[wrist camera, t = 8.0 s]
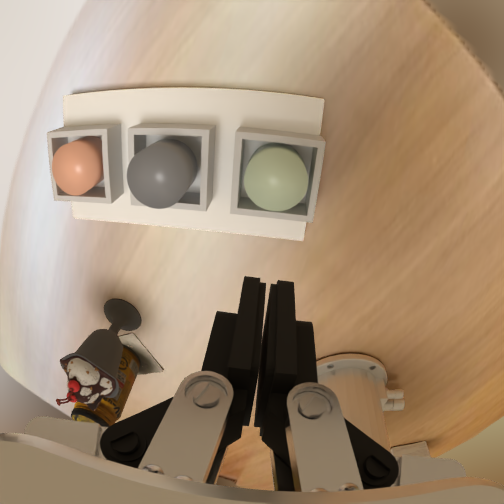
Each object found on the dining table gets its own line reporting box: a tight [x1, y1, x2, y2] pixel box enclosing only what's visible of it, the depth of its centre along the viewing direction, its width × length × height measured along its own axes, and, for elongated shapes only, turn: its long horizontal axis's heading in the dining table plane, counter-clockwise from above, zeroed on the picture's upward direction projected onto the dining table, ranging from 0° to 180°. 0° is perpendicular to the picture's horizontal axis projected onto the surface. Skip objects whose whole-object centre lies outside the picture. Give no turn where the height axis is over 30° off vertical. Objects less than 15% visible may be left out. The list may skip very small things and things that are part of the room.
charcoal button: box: [127, 139, 198, 209], centre depth 22 cm, size 4×4×3 cm
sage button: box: [244, 142, 308, 211], centre depth 23 cm, size 4×4×3 cm
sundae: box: [56, 299, 141, 411], centre depth 29 cm, size 7×7×15 cm
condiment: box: [71, 333, 163, 427], centre depth 35 cm, size 7×8×12 cm
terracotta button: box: [52, 136, 104, 196], centre depth 23 cm, size 4×4×3 cm
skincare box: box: [390, 441, 431, 458], centre depth 44 cm, size 8×6×15 cm
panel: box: [47, 87, 326, 241], centre depth 24 cm, size 22×12×4 cm, turn 85°
